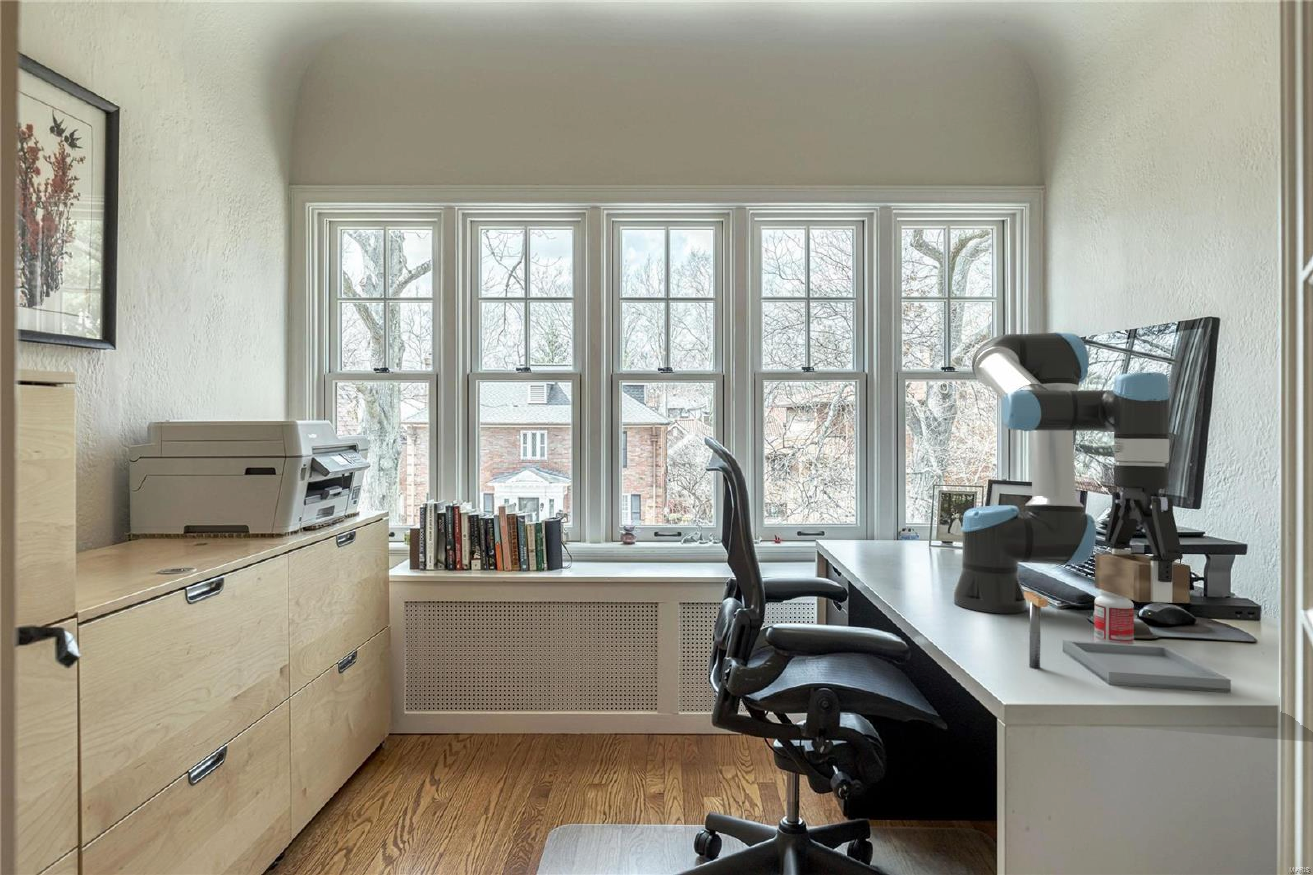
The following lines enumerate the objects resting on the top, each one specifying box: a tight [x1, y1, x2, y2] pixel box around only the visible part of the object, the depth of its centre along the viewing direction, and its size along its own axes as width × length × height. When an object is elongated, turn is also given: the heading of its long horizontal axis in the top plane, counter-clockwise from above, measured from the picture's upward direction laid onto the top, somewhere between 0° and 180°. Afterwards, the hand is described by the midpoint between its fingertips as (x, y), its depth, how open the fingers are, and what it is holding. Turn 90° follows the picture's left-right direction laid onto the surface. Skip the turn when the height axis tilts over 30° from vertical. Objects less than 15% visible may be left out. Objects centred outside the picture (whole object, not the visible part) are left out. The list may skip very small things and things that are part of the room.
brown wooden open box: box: [1094, 553, 1191, 604], centre depth 112 cm, size 11×9×6 cm
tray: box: [1062, 639, 1232, 693], centre depth 112 cm, size 17×17×2 cm
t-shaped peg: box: [1023, 590, 1048, 669], centre depth 113 cm, size 6×2×12 cm, turn 170°
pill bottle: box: [1093, 589, 1135, 644], centre depth 126 cm, size 6×6×11 cm
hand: (1140, 593), depth 112 cm, fingers closed on brown wooden open box, 12 cm apart
